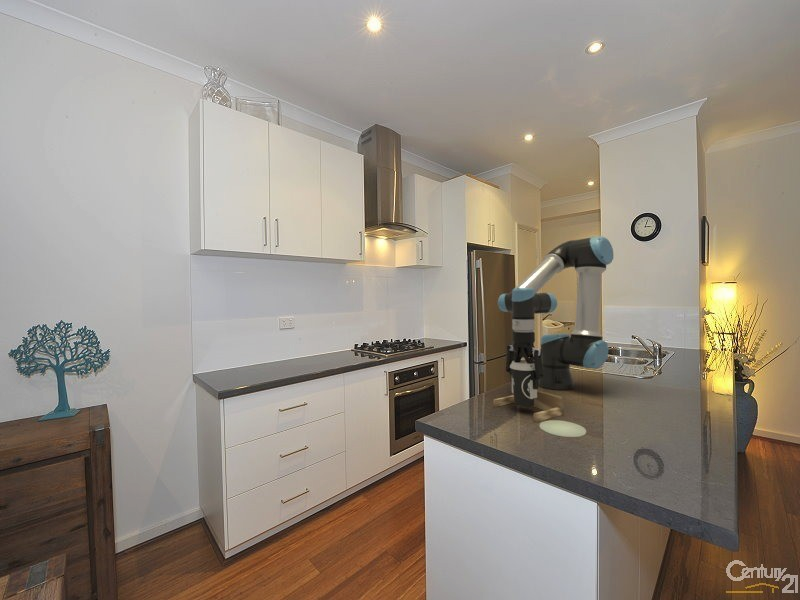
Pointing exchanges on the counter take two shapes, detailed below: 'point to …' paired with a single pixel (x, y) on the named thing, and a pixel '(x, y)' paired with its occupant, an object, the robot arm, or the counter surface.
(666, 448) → the counter surface
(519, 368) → the coffee cup
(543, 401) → the shelf bay
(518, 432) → the counter surface
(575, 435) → the coaster
